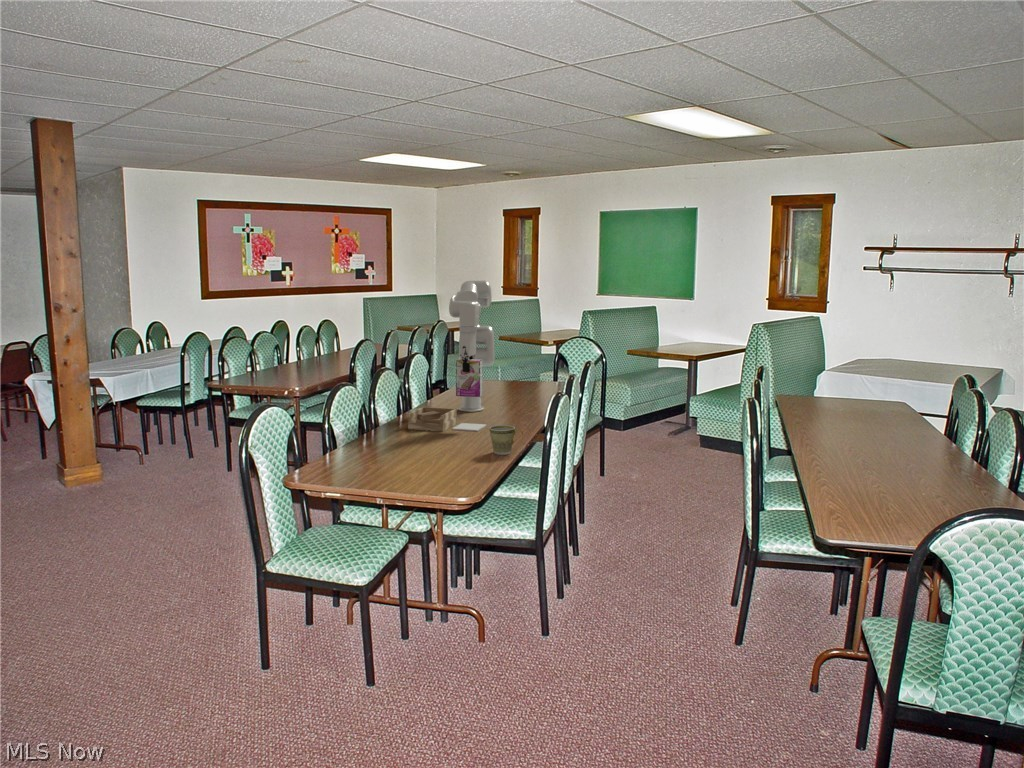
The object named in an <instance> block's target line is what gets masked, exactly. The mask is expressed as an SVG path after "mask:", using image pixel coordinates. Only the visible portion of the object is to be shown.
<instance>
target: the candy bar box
mask: <svg viewBox="0 0 1024 768" xmlns="http://www.w3.org/2000/svg"><path fill="white" fill-rule="evenodd" d="M469 363H470V372H463V365H462V359H460V358H458V359H456V360H455V396H456V397H462V396H464V397H481V398H482V396H483V366H482V360H475V359H469Z"/></svg>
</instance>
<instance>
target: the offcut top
mask: <svg viewBox="0 0 1024 768" xmlns="http://www.w3.org/2000/svg"><path fill="white" fill-rule="evenodd" d="M438 418H440V413H439V412H435V411H432V412H426V413H419V414H417V419H418V420H421V421H425V420H432V419H438Z"/></svg>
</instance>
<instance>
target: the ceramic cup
mask: <svg viewBox="0 0 1024 768" xmlns="http://www.w3.org/2000/svg"><path fill="white" fill-rule="evenodd" d="M488 429H489V434H490V439H491V444H492V450H493V454H494V455H498V456H499V455H501V456H506V455H510V454H511V453H512V447H513V445H514V444H515V443H516V442H517V440H518V439H520V438H521V437H523V435H524V433H523V431H522V429H516V426H513V425H510V424H509V425H508V424H506V425H505V424H499V425H492V426H489V428H488ZM518 432H520V433H521V435H520V436H518V437H517V438H516V439H515V440H514V437H515V435H516V433H518Z"/></svg>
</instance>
